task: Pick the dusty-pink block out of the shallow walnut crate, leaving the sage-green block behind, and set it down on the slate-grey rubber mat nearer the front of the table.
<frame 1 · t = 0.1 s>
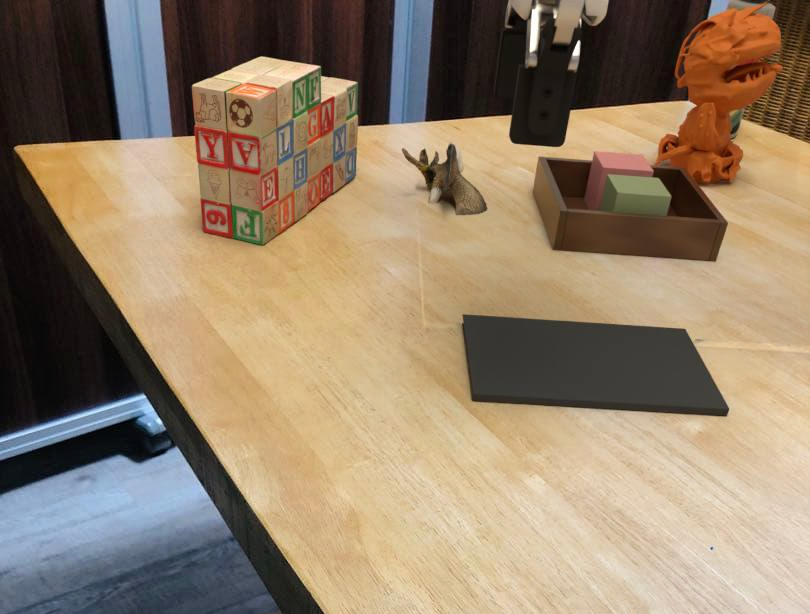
hand: (525, 120, 54), 16 cm above the table, tool pointing down, fingers open, 9 cm apart
lotion bottle: (714, 135, 116), on the table
green block: (625, 237, 83), point 1 cm above the table, touching crate
crate: (617, 230, 86), on the table
pink block: (611, 211, 88), point 1 cm above the table, touching crate
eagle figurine: (446, 209, 87), on the table
toy dinosaur: (695, 180, 101), on the table
mat: (586, 365, 64), on the table
stack of blocks: (285, 204, 85), on the table
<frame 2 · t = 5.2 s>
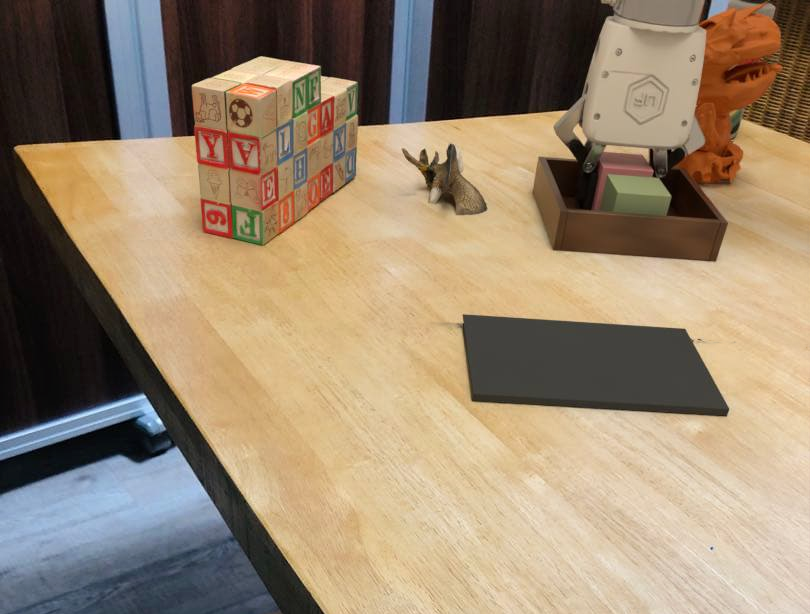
hand: (612, 209, 88), 1 cm above the table, tool pointing down, fingers closed on crate, pink block, 5 cm apart
pink block: (611, 211, 88), point 1 cm above the table, touching crate, gripper
everything else where it was.
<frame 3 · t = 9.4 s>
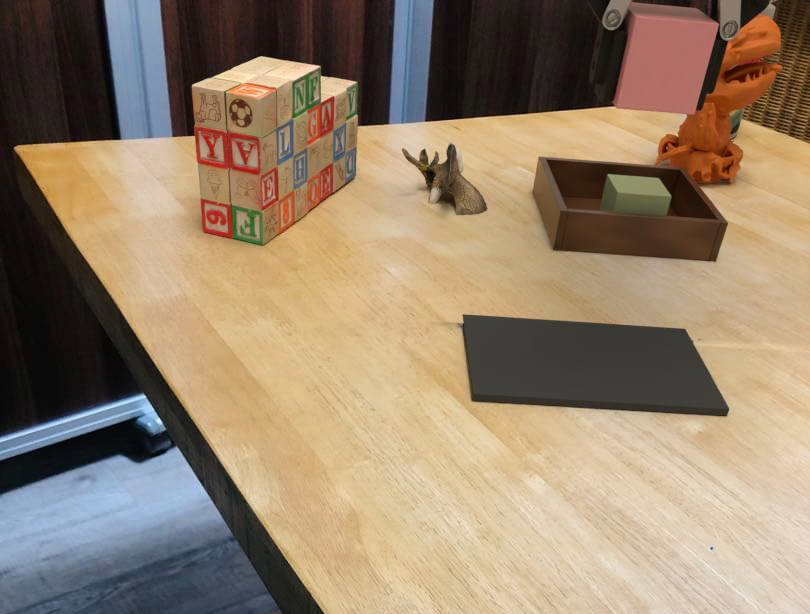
hand: (647, 98, 56), 18 cm above the table, tool pointing down, fingers closed on pink block, 5 cm apart
pink block: (646, 101, 56), point 17 cm above the table, touching gripper
everything else where it was.
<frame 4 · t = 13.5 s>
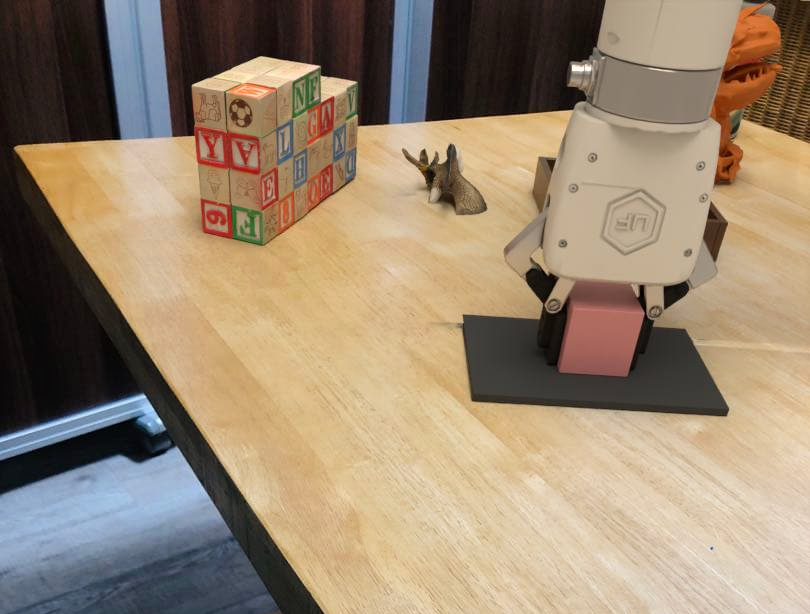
hand: (587, 355, 64), 1 cm above the table, tool pointing down, fingers closed on pink block, 5 cm apart
pink block: (587, 358, 64), point 1 cm above the table, touching gripper
everything else where it was.
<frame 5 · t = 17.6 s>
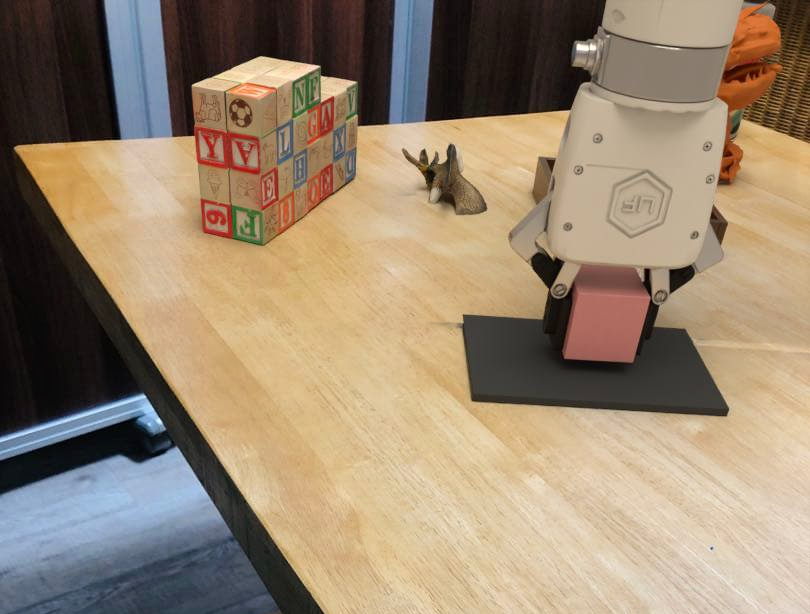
hand: (593, 341, 63), 2 cm above the table, tool pointing down, fingers closed on pink block, 5 cm apart
pink block: (592, 344, 63), point 2 cm above the table, touching gripper
everything else where it was.
when the fingers open (2 cm above the table, at t = 21.1 s): pink block stays where it is, resting on mat.
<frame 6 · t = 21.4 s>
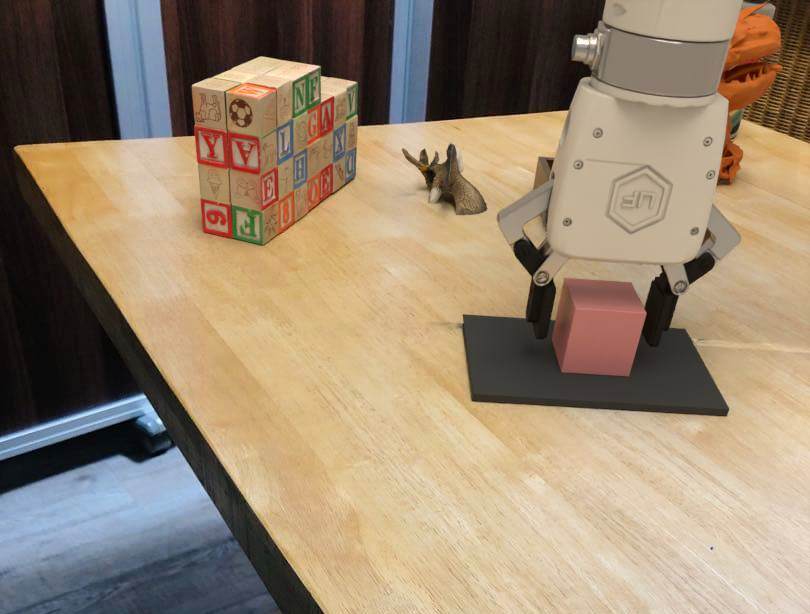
hand: (593, 333, 63), 3 cm above the table, tool pointing down, fingers open, 7 cm apart
pink block: (589, 357, 64), point 1 cm above the table, touching mat
everything else where it was.
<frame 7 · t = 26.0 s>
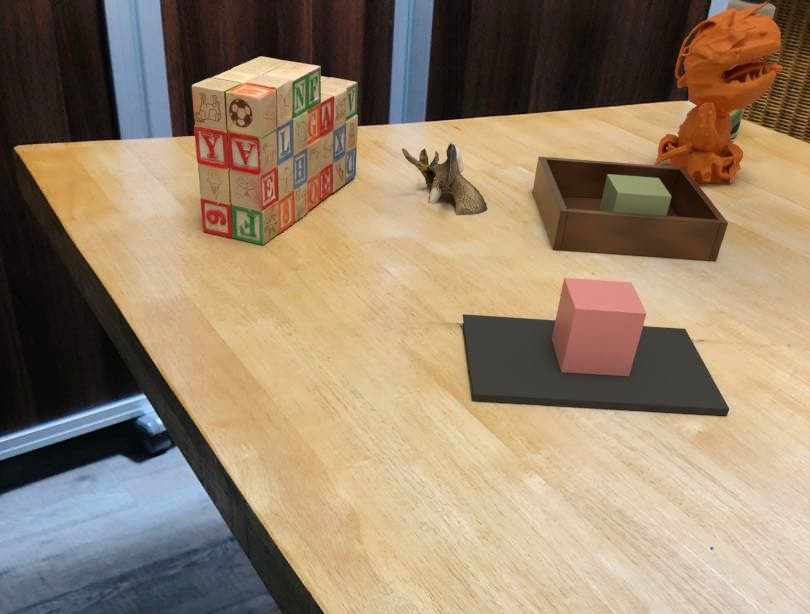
nothing on the table moved.
at the end: pink block inside the target area on the mat (0.1 cm from its centre), point 0.6 cm above the mat's base; pink block tilted 0°; green block moved 0.0 cm from its start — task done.
